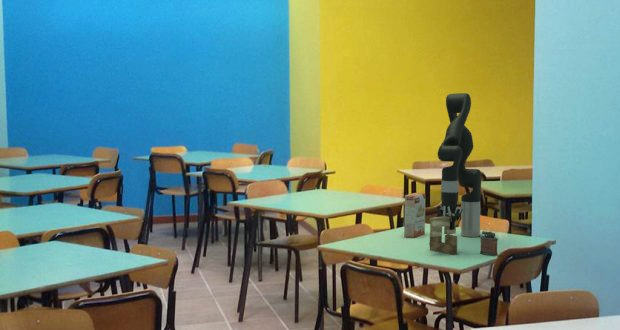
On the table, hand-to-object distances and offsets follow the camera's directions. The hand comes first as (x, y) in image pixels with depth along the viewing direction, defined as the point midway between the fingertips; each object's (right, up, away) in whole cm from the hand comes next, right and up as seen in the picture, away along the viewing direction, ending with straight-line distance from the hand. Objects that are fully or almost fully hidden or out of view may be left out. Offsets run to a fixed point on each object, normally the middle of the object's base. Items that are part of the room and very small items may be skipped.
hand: (449, 229), depth 337 cm
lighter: (+16, -10, -7) cm, 20 cm away
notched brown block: (-3, -10, -2) cm, 11 cm away
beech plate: (-3, -2, -2) cm, 5 cm away
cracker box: (-10, -7, +41) cm, 42 cm away
